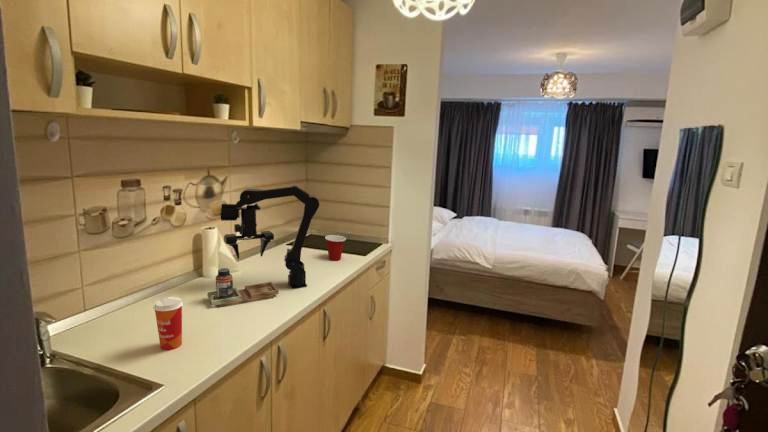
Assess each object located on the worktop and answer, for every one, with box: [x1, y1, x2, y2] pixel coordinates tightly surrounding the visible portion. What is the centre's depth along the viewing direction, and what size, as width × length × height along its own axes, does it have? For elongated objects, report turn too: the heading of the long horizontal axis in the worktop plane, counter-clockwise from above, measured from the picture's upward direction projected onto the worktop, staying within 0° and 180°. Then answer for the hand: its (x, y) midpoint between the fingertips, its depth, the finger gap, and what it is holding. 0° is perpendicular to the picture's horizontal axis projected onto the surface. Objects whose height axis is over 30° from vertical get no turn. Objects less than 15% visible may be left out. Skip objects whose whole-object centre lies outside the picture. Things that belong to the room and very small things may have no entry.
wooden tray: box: [206, 281, 279, 308], centre depth 157 cm, size 25×12×2 cm, turn 121°
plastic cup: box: [324, 234, 347, 262], centre depth 209 cm, size 11×11×12 cm
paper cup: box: [152, 296, 184, 351], centre depth 119 cm, size 8×8×14 cm
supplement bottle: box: [215, 267, 234, 300], centre depth 153 cm, size 6×6×11 cm
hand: (249, 257), depth 165 cm, fingers open, 9 cm apart
